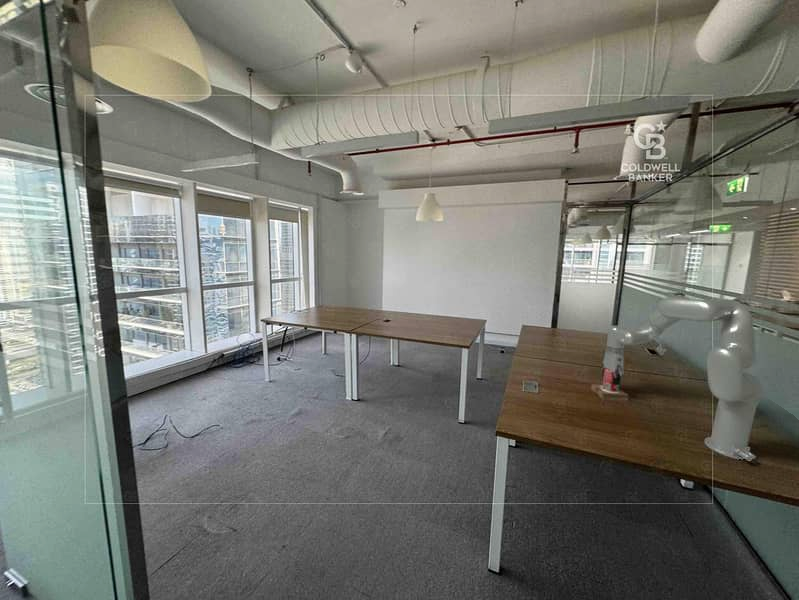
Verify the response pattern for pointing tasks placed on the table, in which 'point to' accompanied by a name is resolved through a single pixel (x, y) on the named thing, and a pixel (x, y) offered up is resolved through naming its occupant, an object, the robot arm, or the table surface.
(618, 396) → the base
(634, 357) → the table surface
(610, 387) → the soda can
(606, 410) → the table surface
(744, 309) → the robot arm
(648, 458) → the table surface
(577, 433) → the table surface
